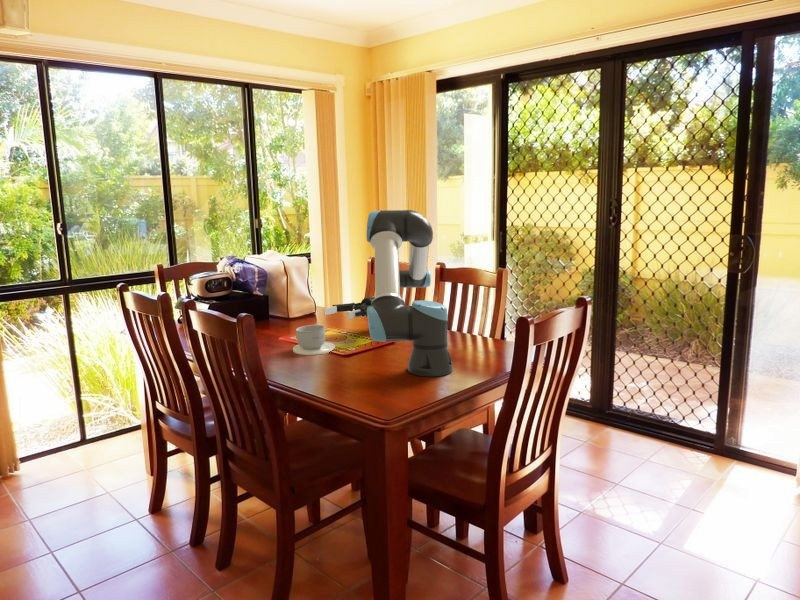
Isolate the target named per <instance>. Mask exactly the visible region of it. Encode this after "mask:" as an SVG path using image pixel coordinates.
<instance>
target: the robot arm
mask: <svg viewBox="0 0 800 600" xmlns="http://www.w3.org/2000/svg"><path fill="white" fill-rule="evenodd" d="M433 235H434V231H433V228H432V225H431V223H430V221H429V220H428V219H427V218H426V217H425V216H424V215H423V214H421V213H420V212H418V211H417V210H412V209H405V210H404V209H403V210H401V209H399V210H398V209H397V210H395V209H393V210H387V209H385V210H382V209H380V210H372V211H371V212H369V214H368V217H367V222H366V235H365V236H366V242H368V243H369V244H370V246H371V247H372V249H374V288H375V289H374V291H375V294H374V295H373V296H368V297H365V298H363V299H362V300H361V302H357V303H355V302H350V303H342V304H341V303H339V304H332V306H329V307H324V308H323V315H324V316H328V315H332V314H335V315H336V314H337V313H341V312H347V320H351V319H352V320H353V319H357V318H361V317H365V316H366V318H367V324H368V330H369V331H368V332H369V336H370V339H371V340H372V341H374V342H383V343H386V342H409V341H412V349H411V353H410V355H409V360H408V363H407V371H408V373H410V374H412V375H415V376H420V377H428V378H429V377H432V378H433V377H442V376H445V375H449V374H451V373H452V372H453V370H454V367H453V366H454V365H453V360H452V357H451V354H450V352H449V348H448V345H449V344H448V321H449V318H448V310H447V309H448V308H447V307H446V305H444V304H442V303H441V302H437V301H432V300H425V299H424V300H423V299H420V300H413V301H412V303H411V305H406V302H405V300H404V299H403V298H402V296H401V288H403V289H407V288H414V289H415V288H419V289H421V288H428V287H430V286H431V284H432V282H431V279H432V277H431V275H432V274H431V271H430V270H429V269H428V263H429V262H428V261H429V251H430V245H431V244H432V242H433V240H434V239H433V238H434V236H433ZM403 242H409V259H408V261H409V264H408V269H407V270H406V269H403V270H401V269H400V259H399V258H400V257H399V248H400V247H401V246H402V245H403Z"/></svg>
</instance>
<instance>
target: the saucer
mask: <svg viewBox="0 0 800 600" xmlns="http://www.w3.org/2000/svg"><path fill="white" fill-rule="evenodd" d="M335 345H336V344H333V343H331V342H328V341H325V342H324V344H323V345H322V346H321V347H320V348H317V349H311V350H307V349H303V348H302V347H301V346H300V345H299V344H296V345H294V346H293V347H292V352H293V353H294V354H296V355H300V356H321V355H326V354H329V352H330V351H332V350H333V349H334V348H335V349H336V346H335ZM332 352H333V351H332ZM330 353H331V352H330Z"/></svg>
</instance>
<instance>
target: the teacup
mask: <svg viewBox="0 0 800 600" xmlns="http://www.w3.org/2000/svg"><path fill="white" fill-rule="evenodd" d="M325 327H326V326H325V325H323V324H319V323H315V324H309V325H303V326H299V327H297V328H296V329H295V332H296V340H297V343H298V344H299V345H300V346H301V347H302V348H303V349H307V350H311V349H317V348H320V347H321V346H322V345H323V344H324V342H326V330H325ZM298 344H297V345H298Z"/></svg>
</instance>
